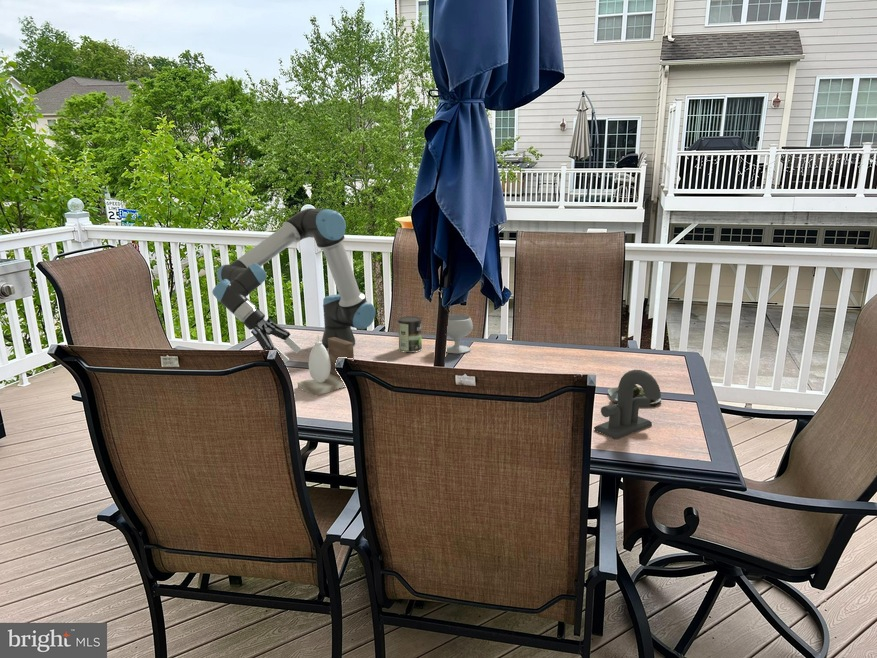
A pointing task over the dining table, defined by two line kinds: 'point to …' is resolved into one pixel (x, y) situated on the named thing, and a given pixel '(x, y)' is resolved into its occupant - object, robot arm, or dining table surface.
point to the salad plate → (636, 393)
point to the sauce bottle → (319, 362)
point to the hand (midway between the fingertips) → (293, 356)
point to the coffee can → (410, 334)
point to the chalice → (458, 332)
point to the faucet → (629, 405)
